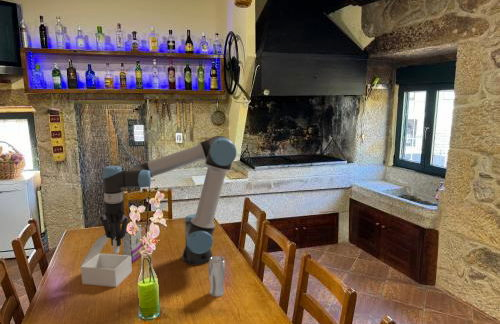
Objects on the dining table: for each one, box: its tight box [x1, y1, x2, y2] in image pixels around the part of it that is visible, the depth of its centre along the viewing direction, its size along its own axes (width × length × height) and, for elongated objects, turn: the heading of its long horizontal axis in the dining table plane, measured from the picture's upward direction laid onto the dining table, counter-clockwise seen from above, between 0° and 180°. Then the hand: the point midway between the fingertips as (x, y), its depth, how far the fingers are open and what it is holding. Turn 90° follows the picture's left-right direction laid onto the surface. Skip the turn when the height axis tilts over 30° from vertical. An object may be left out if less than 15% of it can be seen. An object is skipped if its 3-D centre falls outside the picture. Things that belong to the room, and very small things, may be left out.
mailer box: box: [80, 252, 133, 288], centre depth 157 cm, size 16×14×8 cm
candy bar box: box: [121, 224, 143, 264], centre depth 176 cm, size 11×5×16 cm, turn 169°
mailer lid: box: [79, 233, 110, 267], centre depth 156 cm, size 16×14×1 cm
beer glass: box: [207, 255, 226, 298], centre depth 145 cm, size 7×7×15 cm
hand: (116, 252), depth 155 cm, fingers closed
